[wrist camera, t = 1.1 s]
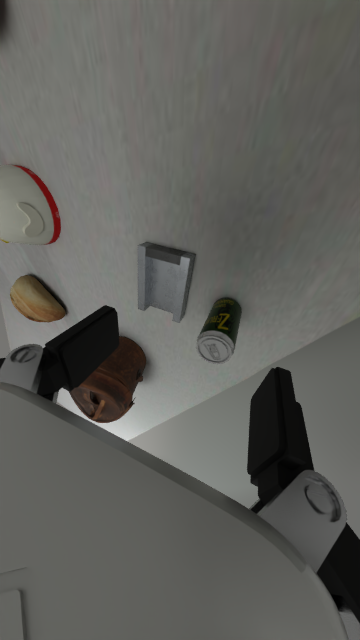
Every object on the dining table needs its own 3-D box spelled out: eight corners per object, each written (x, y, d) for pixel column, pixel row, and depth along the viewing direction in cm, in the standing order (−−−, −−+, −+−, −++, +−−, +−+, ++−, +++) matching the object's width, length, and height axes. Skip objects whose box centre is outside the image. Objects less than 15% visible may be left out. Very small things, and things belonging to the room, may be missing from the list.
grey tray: (146, 242, 33) (137, 245, 30) (195, 254, 31) (189, 258, 28) (145, 302, 41) (138, 308, 38) (184, 315, 38) (179, 323, 36)
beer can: (245, 318, 34) (238, 364, 24) (218, 323, 36) (202, 366, 27) (237, 293, 32) (226, 331, 22) (209, 300, 34) (188, 337, 25)
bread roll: (64, 321, 57) (40, 336, 51) (26, 286, 55) (-5, 297, 48) (73, 306, 51) (47, 321, 45) (30, 266, 49) (-3, 275, 43)
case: (129, 381, 62) (90, 434, 47) (91, 336, 56) (34, 380, 42) (168, 374, 52) (134, 437, 38) (127, 318, 46) (68, 368, 32)
